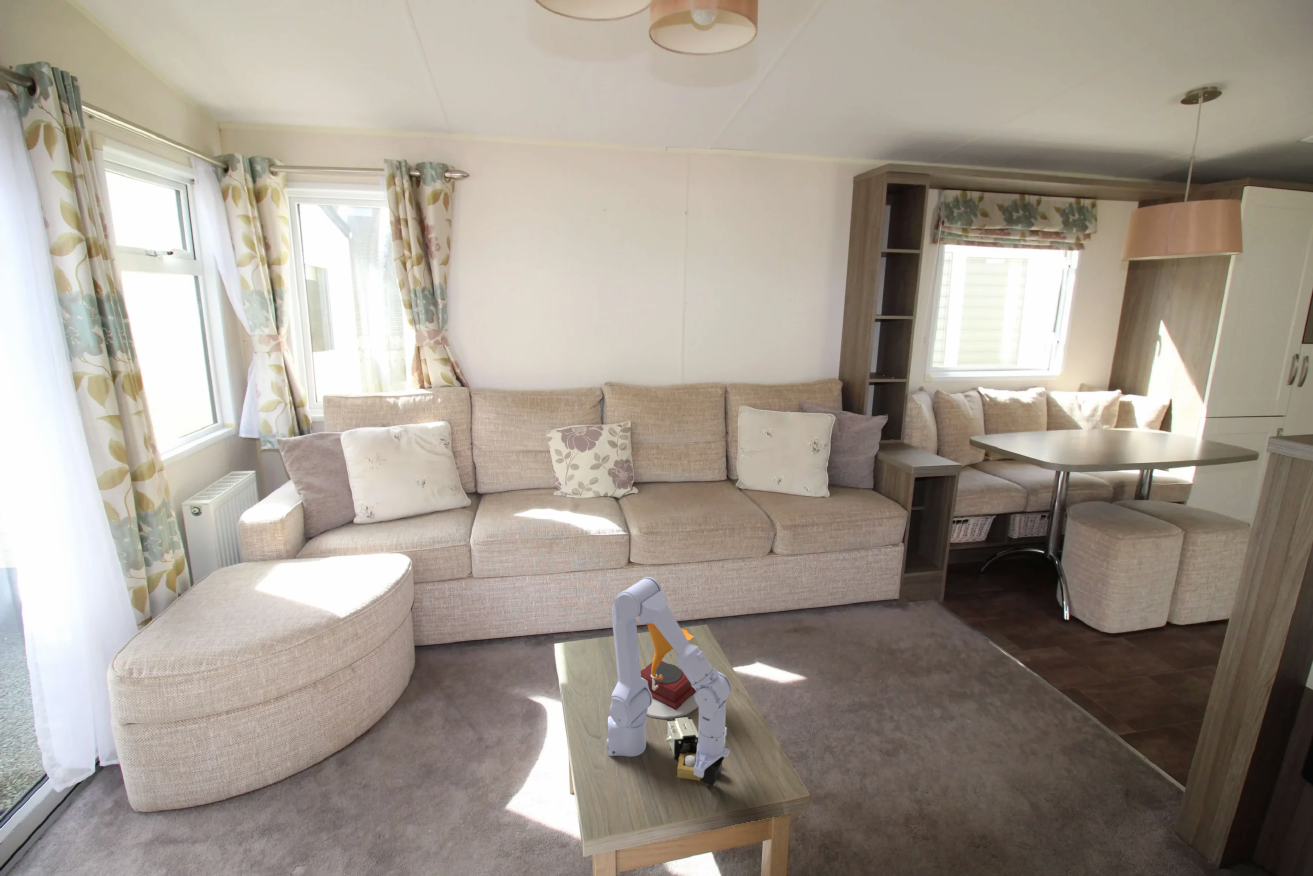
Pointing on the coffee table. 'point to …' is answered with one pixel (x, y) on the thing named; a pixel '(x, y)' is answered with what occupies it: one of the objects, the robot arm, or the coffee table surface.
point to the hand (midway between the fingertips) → (709, 782)
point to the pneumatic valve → (682, 736)
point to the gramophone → (667, 681)
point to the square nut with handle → (689, 768)
